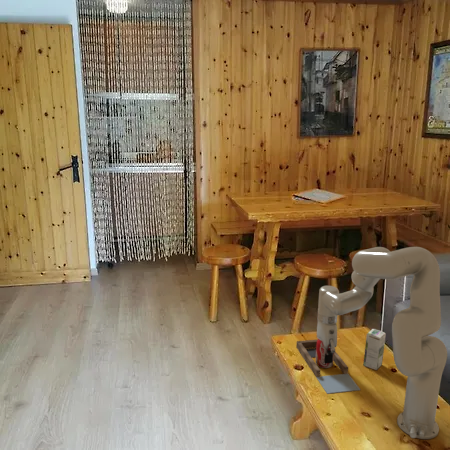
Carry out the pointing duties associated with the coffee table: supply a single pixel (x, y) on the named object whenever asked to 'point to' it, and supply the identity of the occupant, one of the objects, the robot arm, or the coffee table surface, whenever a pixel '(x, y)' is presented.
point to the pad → (337, 383)
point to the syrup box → (374, 349)
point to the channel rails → (302, 349)
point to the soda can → (322, 355)
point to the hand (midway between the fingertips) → (324, 357)
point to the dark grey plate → (312, 352)
